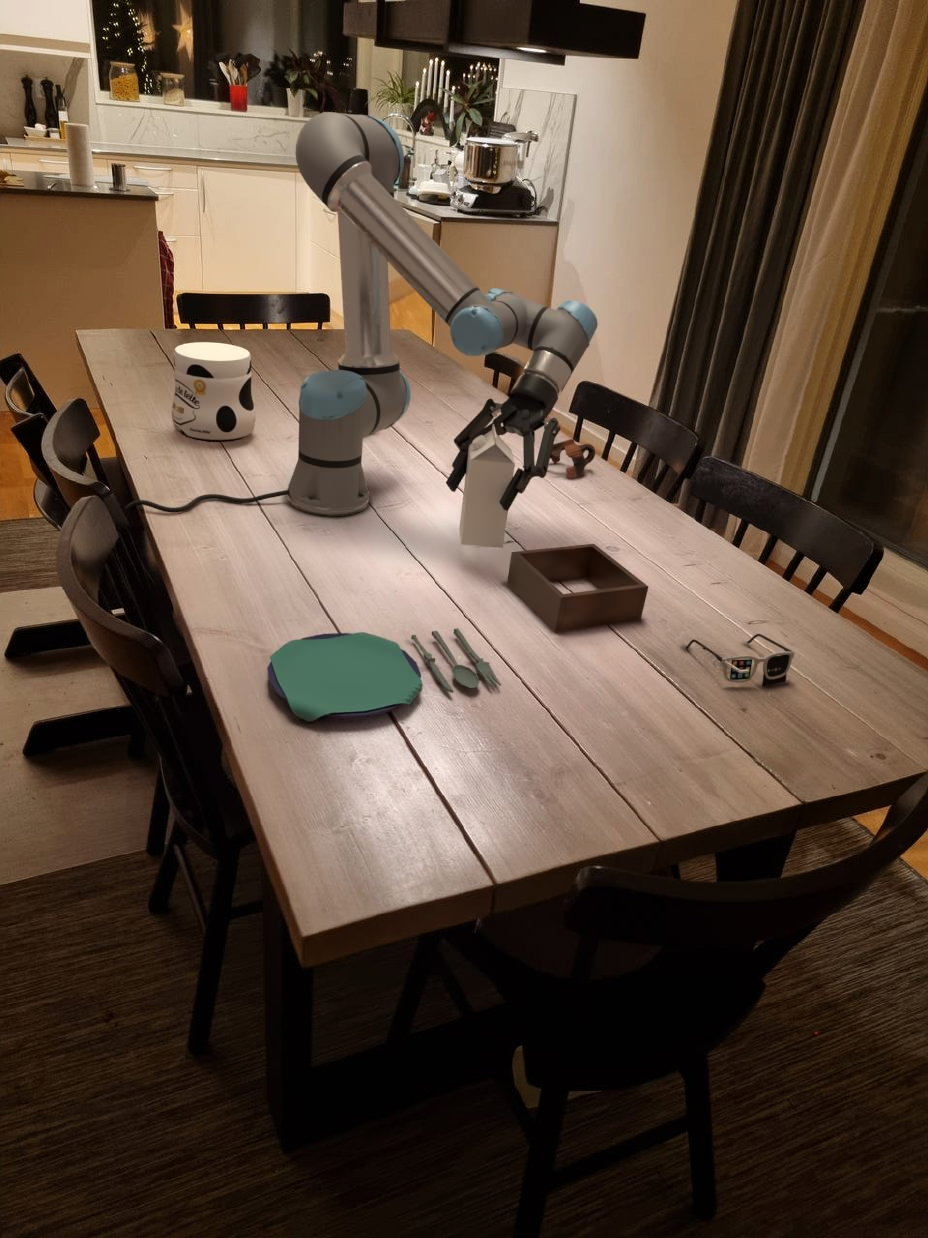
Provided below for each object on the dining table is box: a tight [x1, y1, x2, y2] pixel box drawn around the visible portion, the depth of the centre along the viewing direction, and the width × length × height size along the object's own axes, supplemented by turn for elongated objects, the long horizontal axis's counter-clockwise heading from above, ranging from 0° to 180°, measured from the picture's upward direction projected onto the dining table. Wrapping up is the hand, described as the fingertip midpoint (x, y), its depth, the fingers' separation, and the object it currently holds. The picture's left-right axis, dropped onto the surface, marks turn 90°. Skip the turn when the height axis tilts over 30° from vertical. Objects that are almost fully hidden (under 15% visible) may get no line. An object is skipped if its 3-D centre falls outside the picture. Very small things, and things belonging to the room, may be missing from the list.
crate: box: [506, 543, 649, 633], centre depth 146 cm, size 16×16×6 cm
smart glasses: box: [685, 633, 795, 687], centre depth 134 cm, size 12×14×5 cm
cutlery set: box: [267, 627, 502, 723], centre depth 121 cm, size 20×30×2 cm, turn 113°
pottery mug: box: [550, 438, 596, 479], centre depth 203 cm, size 12×10×8 cm
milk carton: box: [459, 424, 516, 549], centre depth 150 cm, size 7×7×19 cm
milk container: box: [171, 341, 257, 444], centre depth 193 cm, size 17×17×18 cm
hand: (476, 496), depth 149 cm, fingers closed on milk carton, 10 cm apart
